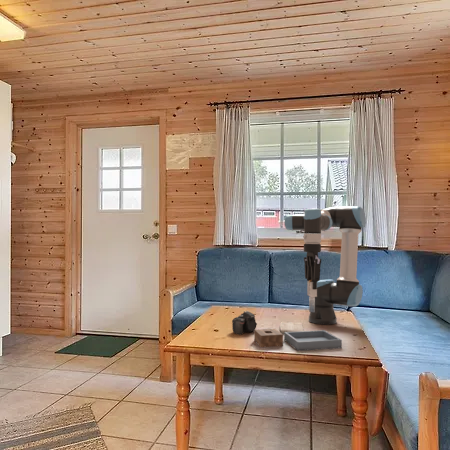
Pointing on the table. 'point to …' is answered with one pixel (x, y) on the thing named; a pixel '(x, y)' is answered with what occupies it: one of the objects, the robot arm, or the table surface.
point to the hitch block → (268, 337)
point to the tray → (312, 340)
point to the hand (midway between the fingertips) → (312, 295)
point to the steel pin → (311, 301)
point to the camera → (244, 323)
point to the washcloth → (290, 327)
